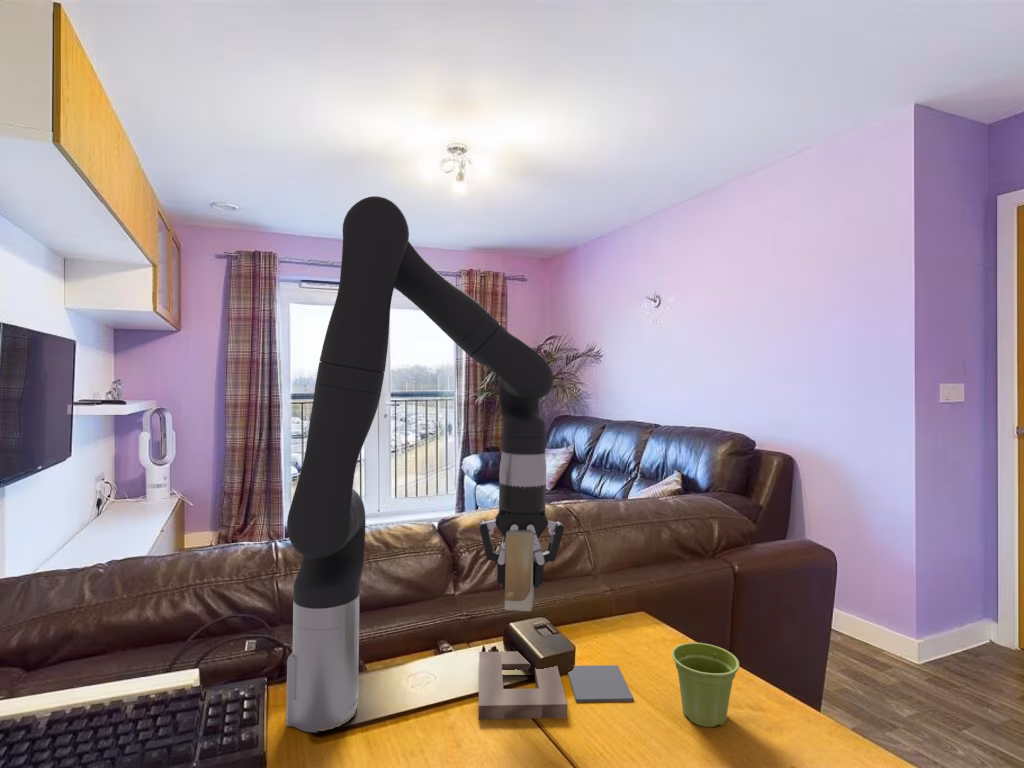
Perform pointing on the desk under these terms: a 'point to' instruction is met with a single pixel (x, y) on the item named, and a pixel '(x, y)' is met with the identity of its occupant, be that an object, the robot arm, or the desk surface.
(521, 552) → the skincare box
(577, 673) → the mat
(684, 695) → the plant pot
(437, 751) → the desk surface
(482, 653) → the puzzle board
